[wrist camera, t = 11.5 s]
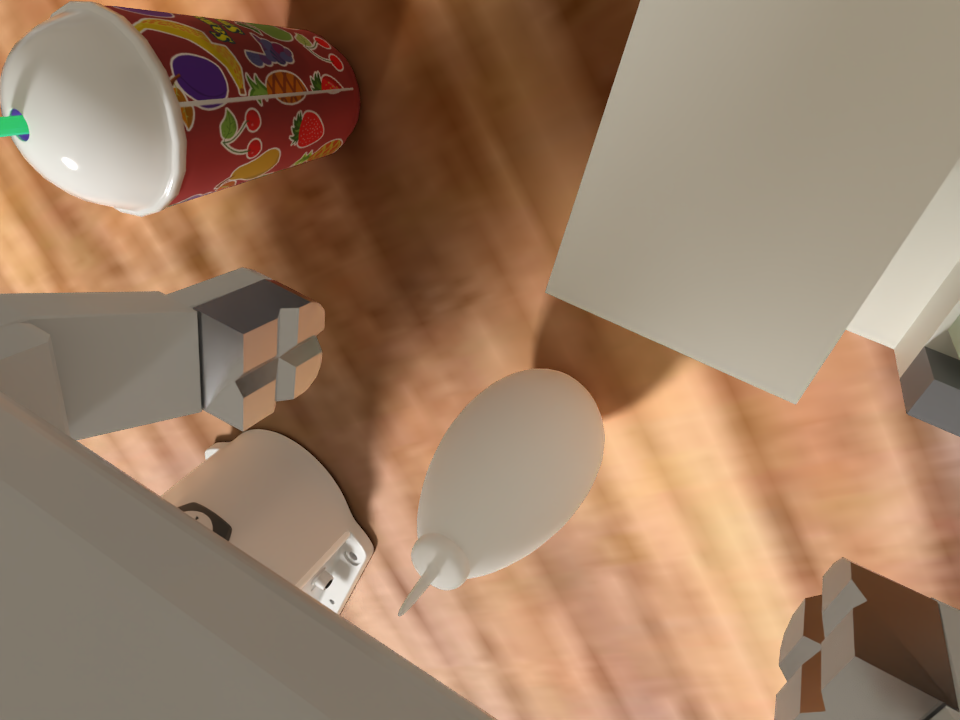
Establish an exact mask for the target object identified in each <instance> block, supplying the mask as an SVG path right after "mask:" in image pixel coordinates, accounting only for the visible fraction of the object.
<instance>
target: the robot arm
mask: <svg viewBox="0 0 960 720" xmlns="http://www.w3.org/2000/svg"><path fill="white" fill-rule="evenodd" d="M324 327H325V310H324V309H323V307H322V306H321V305H320V303H318V302H316V301H314V300H312V299H310V298H308V297H306V296H304V295H302V294H301V293H299V292H297V291H295V290H293V289H291V288H289V287H287V286H285V285H283V284H281V283H279V282H277V281H275V280H272V279H271V278H269V277H267V276H265V275H263V274H261V273H259V272H257V271H255V270H253V269H247V268H240V269H237V270H234V271H231V272H228V273H226V274H223V275H220V276H217V277H214V278H212V279H209V280H206V281H203V282H201V283H198V284H195V285H192V286H189V287H187V288H184V289H181V290H178V291H176V292H173V293H170V294H167V295H165V294H163V293H161V292H159V291H153V292H87V293H20V294H0V720H497V719H496V718H494V717H493V716H491V715H490V714H488V713H487V712H485V711H483V710H482V709H480V708H479V707H477V706H476V705H474V704H473V703H471V702H470V701H468V700H467V699H465V698H464V697H462V696H461V695H459V694H458V693H456V692H455V691H453V690H452V689H450V688H449V687H447V686H446V685H444V684H443V683H441V682H440V681H438V680H437V679H435V678H434V677H432V676H431V675H429V674H428V673H426V672H424V671H423V670H421V669H420V668H418V667H417V666H415V665H414V664H412V663H411V662H409V661H408V660H406V659H405V658H403V657H402V656H400V655H399V654H397V653H396V652H394V651H393V650H391V649H390V648H388V647H387V646H385V645H384V644H382V643H381V642H379V641H378V640H376V639H375V638H373V637H372V636H370V635H369V634H367V633H366V632H364V631H363V630H361V629H360V628H358V627H357V626H355V625H354V624H352V623H351V622H349V621H348V620H346V619H345V618H343V617H342V616H340V613H341V611H342V610H343V608H344V606H345V604H346V602H347V600H348V598H349V597H350V595H351V593H352V591H353V589H354V587H355V586H356V584H357V582H358V580H359V578H360V576H361V574H362V573H363V571H364V569H365V567H366V565H367V563H368V562H369V560H370V558H371V556H372V554H373V552H374V548H373V545H372V543H371V541H370V539H369V538H368V536H367V535H366V534H365V532H364V531H363V530H362V528H361V527H360V526H359V525H358V523H357V522H356V521H355V519H354V518H353V516H352V514H351V512H350V509H349V507H348V505H347V502H346V500H345V498H344V496H343V494H342V492H341V490H340V489H339V487H338V485H337V484H336V482H335V481H334V479H333V478H332V477H331V475H330V474H329V473H328V471H327V470H326V469H325V468H324V467H323V466H322V464H321V463H320V462H319V461H318V460H317V459H316V458H315V457H314V456H313V455H311V454H310V453H309V452H308V451H307V450H306V449H304V448H303V447H302V446H300V445H299V444H297V443H296V442H294V441H293V440H291V439H289V438H287V437H285V436H283V435H281V434H279V433H276V432H273V431H269V430H263V429H252V430H248V431H245V430H247V429H248V428H250V427H251V426H253V425H255V424H256V423H258V422H259V421H261V420H262V419H264V418H265V417H267V416H269V415H270V414H272V413H273V412H274V411H275V406H276V402H277V401H284V400H291V399H295V398H296V397H298V396H299V395H301V394H302V393H304V392H305V391H306V390H307V389H308V388H309V386H310V385H311V384H312V382H313V381H314V380H315V378H316V377H317V375H318V372H319V369H320V366H321V361H322V349H321V347H320V344H319V342H318V340H317V337H316V336H317V335H318V334H319V333H320V332H321V331H323V330H324ZM202 410H204V411H206V412H208V413H210V414H212V415H213V416H215V417H217V418H219V419H221V420H223V421H224V422H226V423H228V424H230V425H232V426H234V427H235V428H237V429H239V430H241V431H243V433H241V434H240V435H239V436H238V437H236V438H235V439H234V440H233V441H231V442H218V443H215V444H213V445H212V446H211V447H209V448H208V449H207V450H206V451H205V458H206V460H205V461H204V462H203V463H201V464H200V465H199V466H198V467H196V468H195V469H194V470H193V471H191V472H190V473H189V474H188V475H186V476H185V477H184V478H183V479H181V480H180V481H179V482H178V483H176V484H175V485H174V486H173V487H171V488H170V489H169V490H168V491H167V492H165V493H164V494H163V495H162V496H159V495H158V494H156V493H155V492H153V491H152V490H150V489H148V488H147V487H145V486H144V485H142V484H141V483H139V482H138V481H136V480H135V479H133V478H132V477H130V476H129V475H127V474H126V473H124V472H123V471H121V470H120V469H118V468H117V467H115V466H114V465H112V464H111V463H109V462H108V461H106V460H105V459H103V458H102V457H100V456H99V455H97V454H96V453H94V452H93V451H91V450H90V449H88V448H87V447H85V446H84V445H82V444H81V443H79V442H78V441H76V440H80V439H85V438H89V437H93V436H98V435H102V434H107V433H111V432H115V431H120V430H124V429H129V428H133V427H137V426H142V425H146V424H151V423H155V422H159V421H164V420H168V419H173V418H177V417H181V416H186V415H190V414H195V413H199V412H201V411H202ZM244 431H245V432H244ZM779 667H780V669H781V670H782V672H783V674H784V676H785V678H786V680H787V683H786V684H785V685H784V686H783V688H782V689H781V690H780V691H779V692H778V693H777V695H776V704H775V718H774V720H960V610H958V609H956V608H953V607H951V606H949V605H947V604H945V603H942V602H940V601H938V600H936V599H934V598H929V597H927V596H924V595H922V594H920V593H918V592H916V591H914V590H912V589H910V588H907V587H905V586H903V585H901V584H899V583H897V582H895V581H893V580H891V579H888V578H886V577H884V576H882V575H880V574H878V573H876V572H874V571H872V570H869V569H867V568H865V567H863V566H861V565H859V564H857V563H855V562H852V561H850V560H848V559H846V558H844V557H842V558H841V559H839V560H838V561H836V562H835V563H834V564H833V565H832V566H831V567H830V568H829V570H828V571H827V572H826V573H825V574H824V576H823V588H822V595H818V596H813V597H809V598H805V599H804V601H803V602H802V603H801V605H800V606H799V607H798V609H797V610H796V611H795V613H794V614H793V616H792V618H791V620H790V622H789V624H788V627H787V629H786V631H785V633H784V637H783V641H782V645H781V649H780V658H779Z"/></svg>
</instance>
